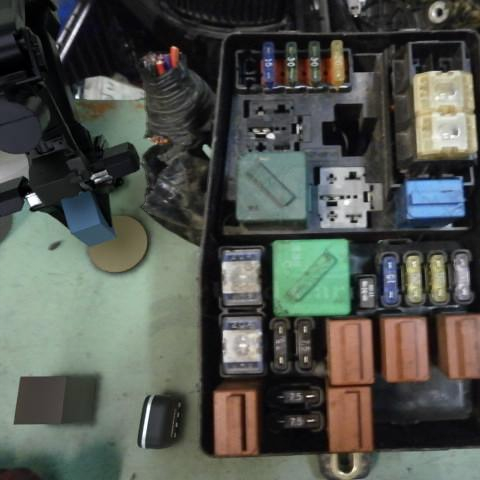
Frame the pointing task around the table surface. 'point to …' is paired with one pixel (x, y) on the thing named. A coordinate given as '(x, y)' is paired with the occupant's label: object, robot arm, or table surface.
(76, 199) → the relay
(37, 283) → the table surface
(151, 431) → the battery charger
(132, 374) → the table surface
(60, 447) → the table surface
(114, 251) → the tan disc
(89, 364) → the table surface
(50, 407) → the block
